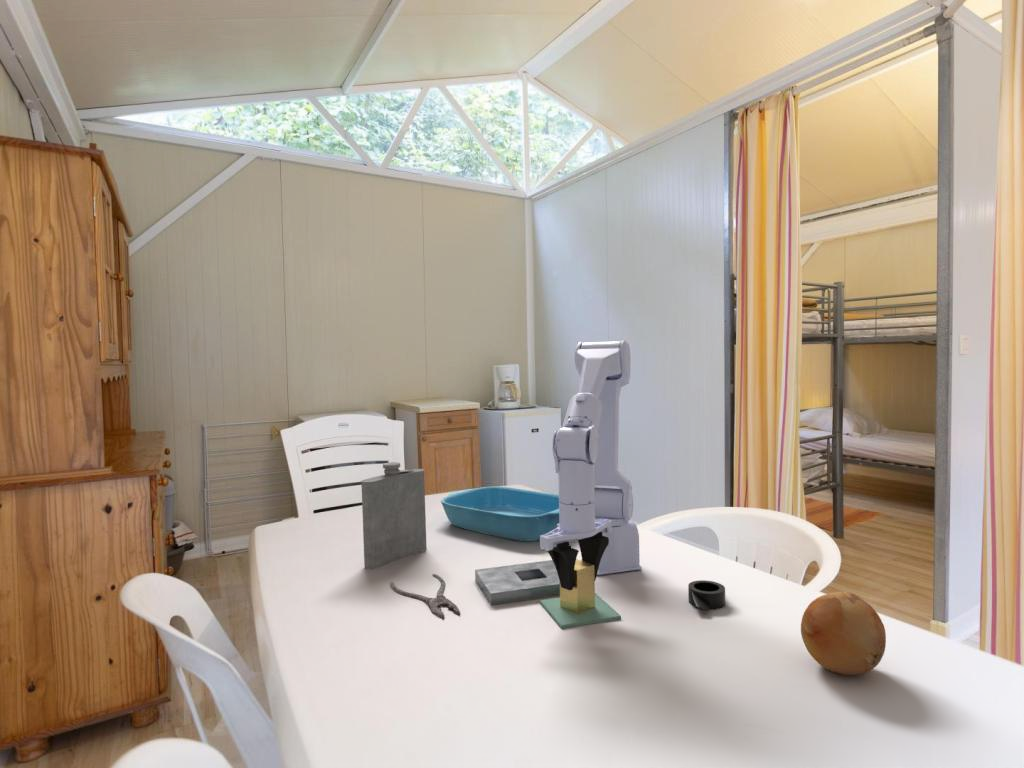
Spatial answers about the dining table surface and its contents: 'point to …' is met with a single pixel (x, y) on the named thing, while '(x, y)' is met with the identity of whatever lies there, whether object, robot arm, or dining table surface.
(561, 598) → the brushed gold bar
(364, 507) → the hip flask
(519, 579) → the grey board with hole
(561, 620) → the green mat
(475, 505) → the casserole dish
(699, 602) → the duct tape
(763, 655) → the dining table surface
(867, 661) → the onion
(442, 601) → the pliers
